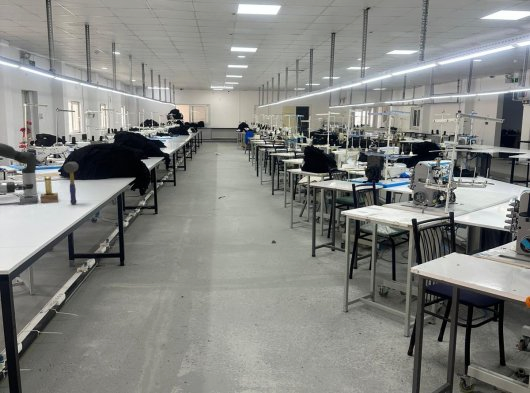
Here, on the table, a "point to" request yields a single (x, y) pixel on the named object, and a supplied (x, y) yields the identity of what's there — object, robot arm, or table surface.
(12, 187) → the robot arm
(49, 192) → the brass peg
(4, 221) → the table surface
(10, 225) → the table surface
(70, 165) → the rubber mallet
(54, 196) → the block
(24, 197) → the socket block
